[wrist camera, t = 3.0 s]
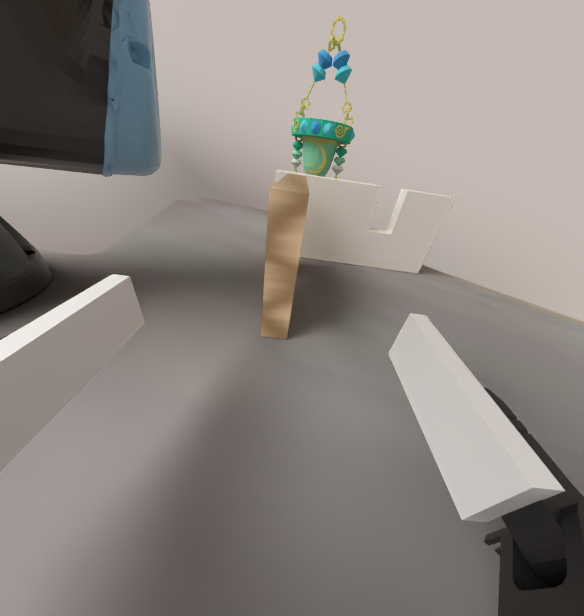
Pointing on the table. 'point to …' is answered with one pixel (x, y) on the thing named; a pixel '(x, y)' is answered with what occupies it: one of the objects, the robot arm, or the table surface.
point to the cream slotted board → (356, 220)
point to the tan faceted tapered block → (283, 252)
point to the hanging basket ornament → (323, 133)
